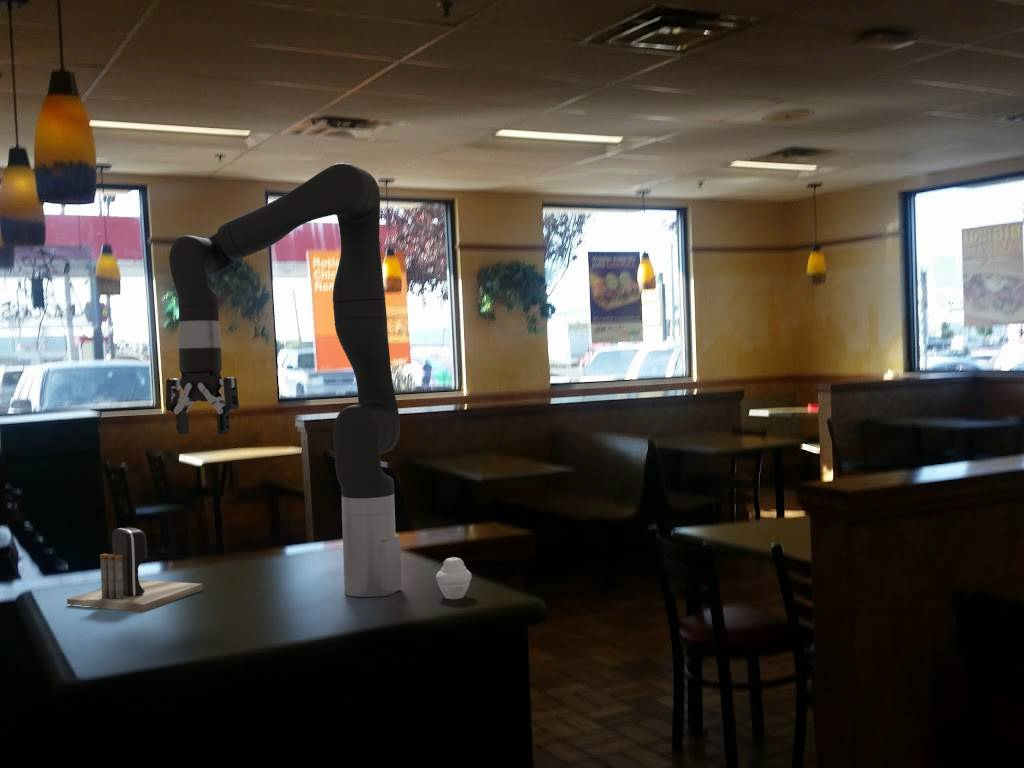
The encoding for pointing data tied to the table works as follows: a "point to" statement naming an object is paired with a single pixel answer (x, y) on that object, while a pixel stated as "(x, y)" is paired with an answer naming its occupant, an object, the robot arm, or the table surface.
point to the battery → (130, 557)
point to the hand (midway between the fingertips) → (203, 434)
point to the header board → (115, 599)
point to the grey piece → (453, 578)
